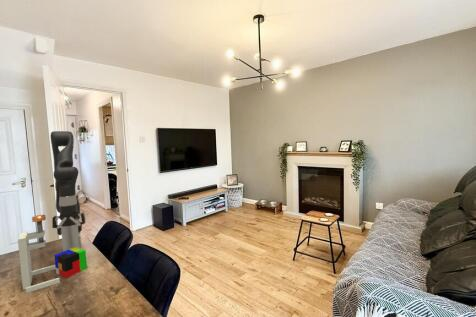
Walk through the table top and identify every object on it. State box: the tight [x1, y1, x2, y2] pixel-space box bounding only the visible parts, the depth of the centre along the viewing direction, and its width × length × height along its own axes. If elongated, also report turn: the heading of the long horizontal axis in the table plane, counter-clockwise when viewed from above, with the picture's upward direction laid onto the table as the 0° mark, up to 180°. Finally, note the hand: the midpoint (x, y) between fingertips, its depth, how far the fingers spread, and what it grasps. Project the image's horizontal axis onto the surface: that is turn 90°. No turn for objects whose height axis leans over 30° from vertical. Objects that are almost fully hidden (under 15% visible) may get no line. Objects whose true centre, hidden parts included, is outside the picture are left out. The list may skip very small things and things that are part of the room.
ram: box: [31, 214, 47, 250], centre depth 113 cm, size 5×5×16 cm
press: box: [17, 229, 61, 294], centre depth 113 cm, size 14×18×24 cm
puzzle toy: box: [53, 247, 88, 279], centre depth 121 cm, size 10×10×10 cm
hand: (70, 233), depth 124 cm, fingers open, 8 cm apart
